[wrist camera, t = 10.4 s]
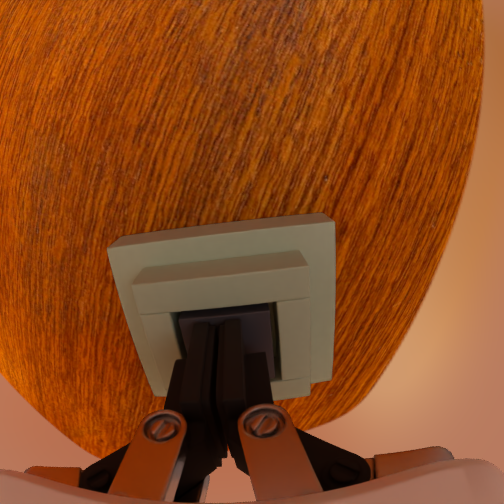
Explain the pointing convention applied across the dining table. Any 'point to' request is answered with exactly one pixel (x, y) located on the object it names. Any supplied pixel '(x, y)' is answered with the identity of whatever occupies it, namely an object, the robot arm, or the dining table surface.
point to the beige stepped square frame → (233, 291)
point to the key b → (252, 323)
